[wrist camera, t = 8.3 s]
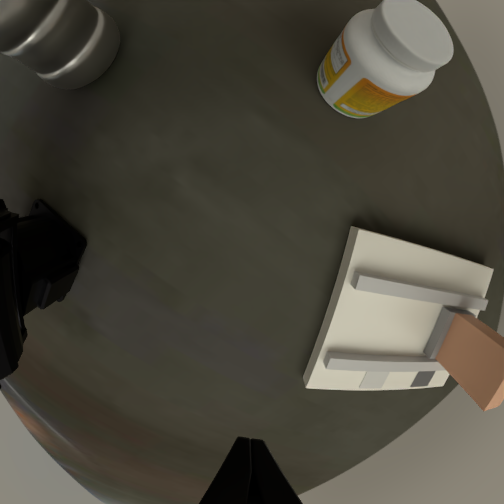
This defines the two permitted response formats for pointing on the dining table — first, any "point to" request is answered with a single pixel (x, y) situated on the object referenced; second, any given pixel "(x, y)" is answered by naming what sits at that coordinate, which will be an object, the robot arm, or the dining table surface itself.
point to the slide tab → (469, 355)
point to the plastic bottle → (59, 39)
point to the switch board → (390, 314)
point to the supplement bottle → (383, 58)
